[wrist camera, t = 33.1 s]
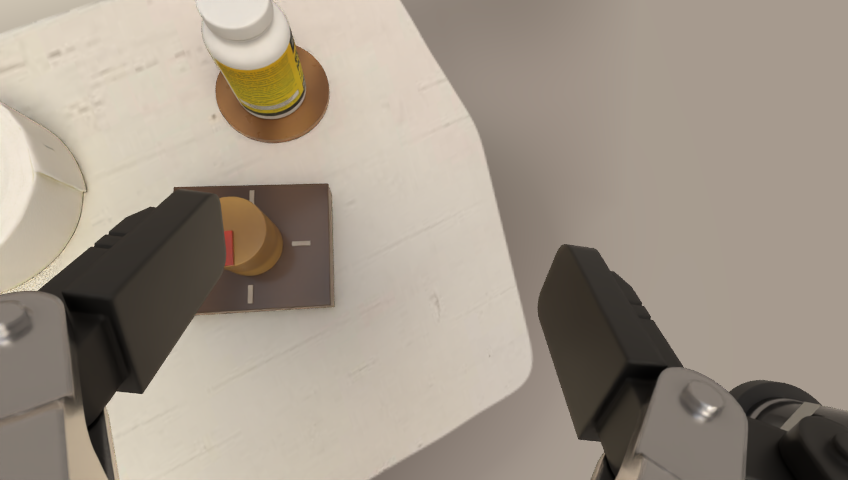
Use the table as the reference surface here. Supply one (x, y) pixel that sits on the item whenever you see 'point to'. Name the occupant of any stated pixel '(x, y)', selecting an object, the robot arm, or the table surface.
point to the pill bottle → (254, 54)
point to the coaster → (285, 126)
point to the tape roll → (34, 197)
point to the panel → (301, 254)
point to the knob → (249, 237)
